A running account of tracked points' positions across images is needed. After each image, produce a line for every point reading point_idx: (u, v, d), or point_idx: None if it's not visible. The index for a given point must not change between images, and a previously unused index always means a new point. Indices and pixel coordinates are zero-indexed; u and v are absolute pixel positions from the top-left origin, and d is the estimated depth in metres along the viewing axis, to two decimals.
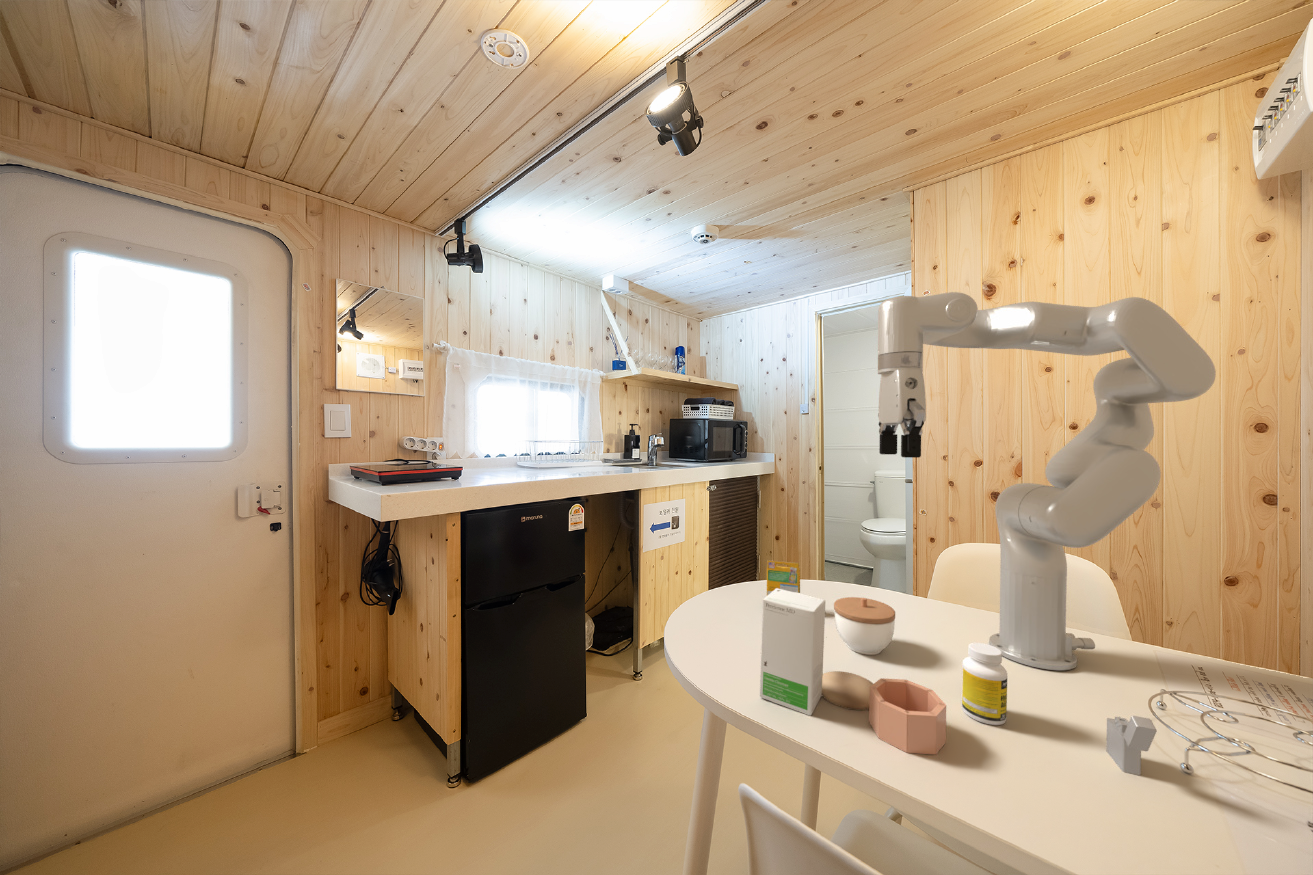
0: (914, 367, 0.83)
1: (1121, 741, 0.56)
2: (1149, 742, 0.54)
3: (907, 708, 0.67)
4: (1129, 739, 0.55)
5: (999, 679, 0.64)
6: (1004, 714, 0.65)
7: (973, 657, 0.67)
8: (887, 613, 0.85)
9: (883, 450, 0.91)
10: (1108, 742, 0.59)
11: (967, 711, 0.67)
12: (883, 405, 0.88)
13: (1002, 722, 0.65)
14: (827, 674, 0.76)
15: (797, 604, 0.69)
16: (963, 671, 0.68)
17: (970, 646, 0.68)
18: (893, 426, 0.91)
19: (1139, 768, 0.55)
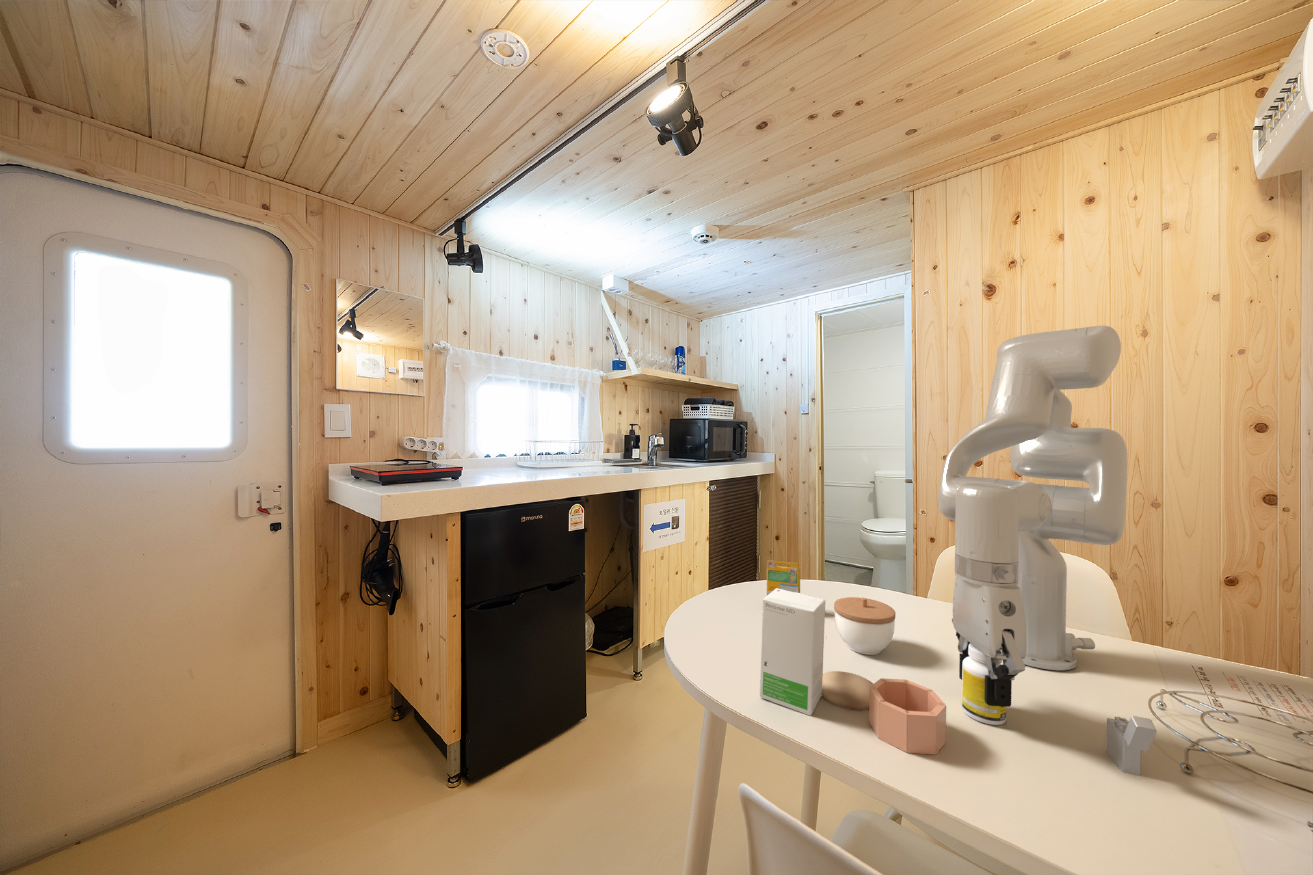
0: (1009, 584, 0.63)
1: (1121, 741, 0.56)
2: (1149, 742, 0.54)
3: (907, 708, 0.67)
4: (1129, 739, 0.55)
5: None
6: (1004, 714, 0.65)
7: (973, 657, 0.67)
8: (887, 613, 0.85)
9: None
10: (1108, 742, 0.59)
11: (967, 711, 0.67)
12: (962, 616, 0.68)
13: (1002, 722, 0.65)
14: (827, 674, 0.76)
15: (797, 604, 0.69)
16: (963, 671, 0.68)
17: (970, 646, 0.68)
18: None
19: (1139, 768, 0.55)
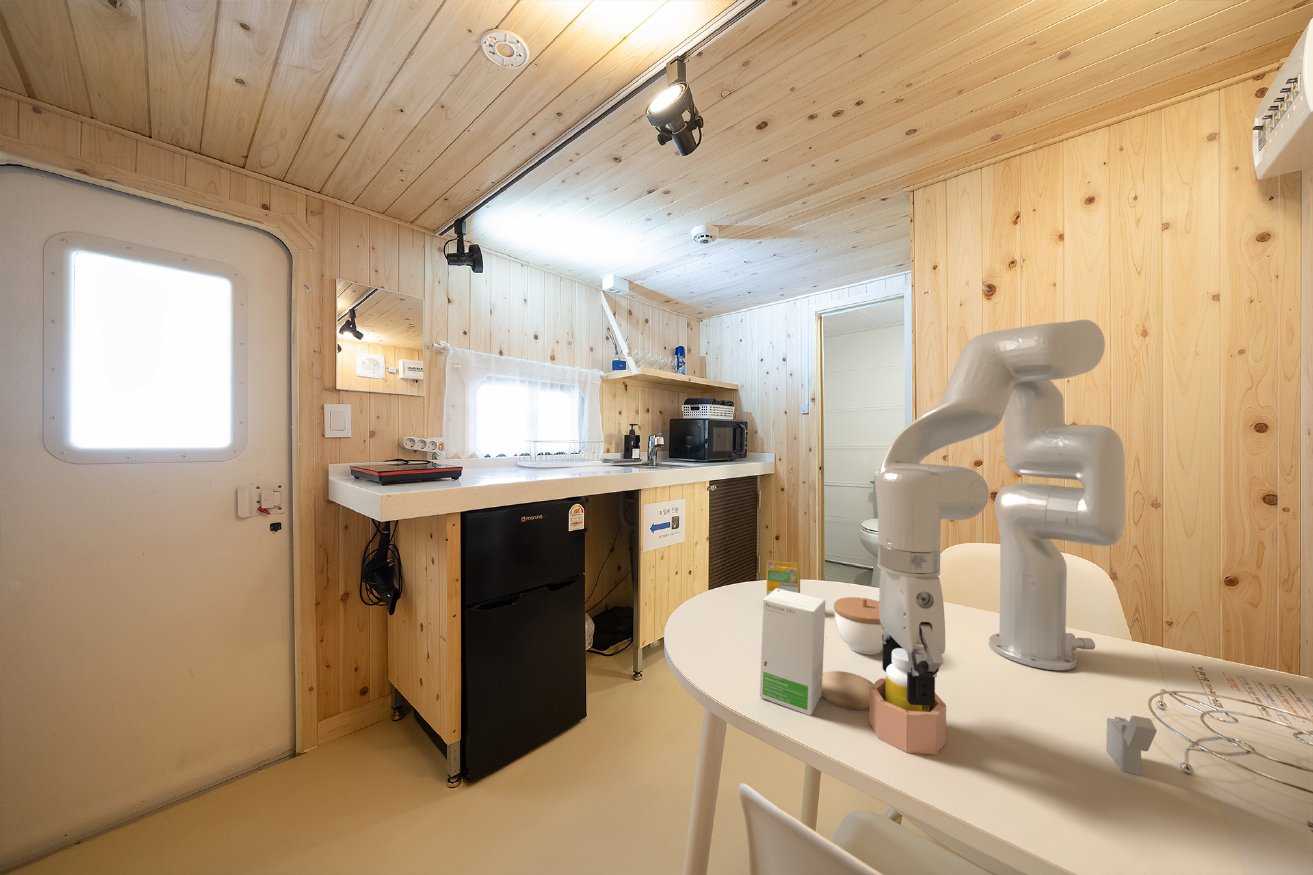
0: (928, 574, 0.59)
1: (1121, 740, 0.56)
2: (1149, 742, 0.54)
3: None
4: (1129, 739, 0.55)
5: None
6: None
7: (895, 664, 0.63)
8: None
9: None
10: (1108, 742, 0.59)
11: None
12: (885, 609, 0.65)
13: None
14: (827, 674, 0.76)
15: (797, 604, 0.69)
16: (886, 679, 0.64)
17: (893, 652, 0.64)
18: None
19: (1139, 768, 0.55)
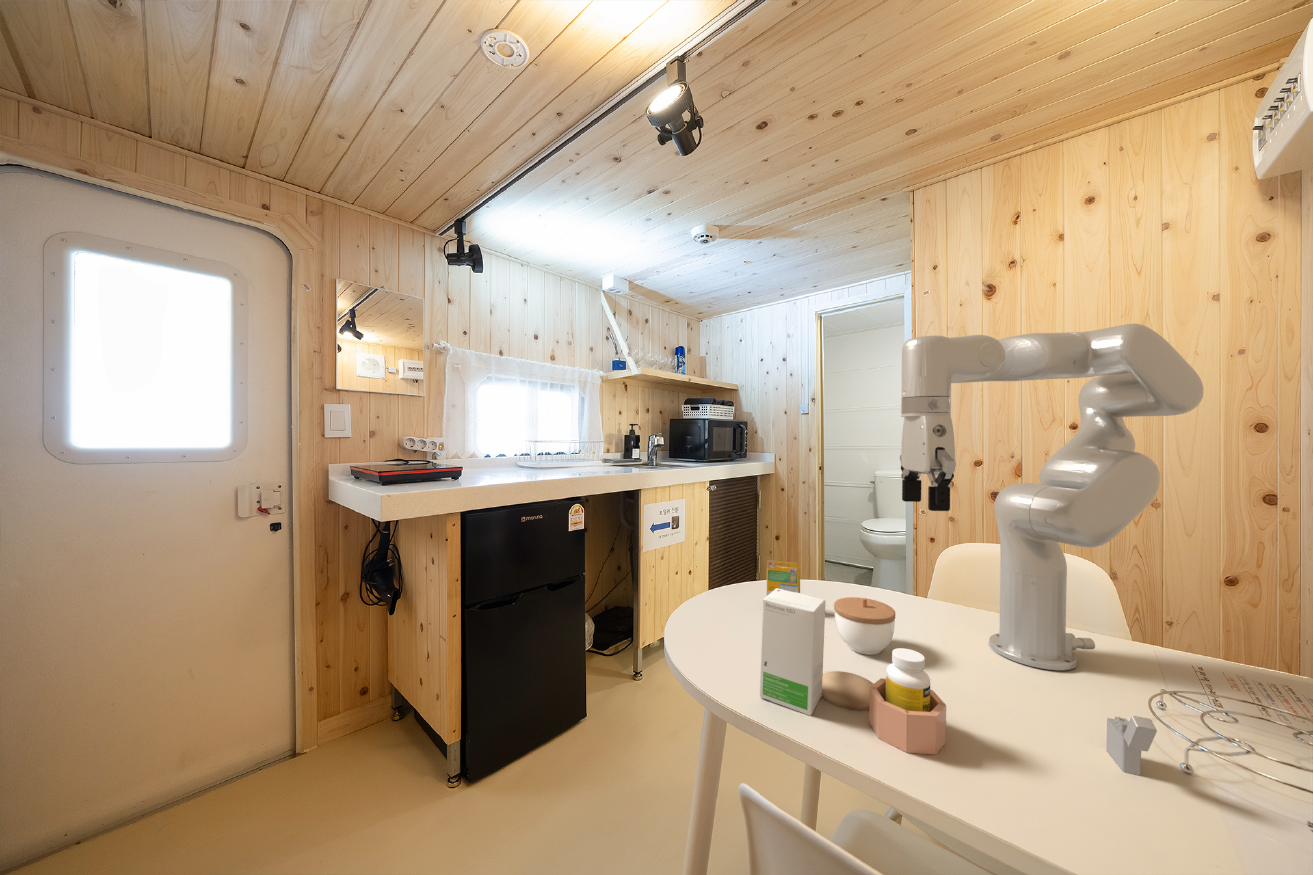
0: (942, 413, 0.77)
1: (1121, 741, 0.56)
2: (1149, 742, 0.54)
3: None
4: (1130, 739, 0.55)
5: (920, 687, 0.61)
6: None
7: (896, 664, 0.63)
8: (887, 613, 0.85)
9: (906, 497, 0.85)
10: (1108, 742, 0.59)
11: None
12: (907, 450, 0.82)
13: None
14: (827, 674, 0.76)
15: (797, 604, 0.69)
16: (886, 679, 0.64)
17: (893, 652, 0.64)
18: (917, 471, 0.85)
19: (1139, 768, 0.55)
